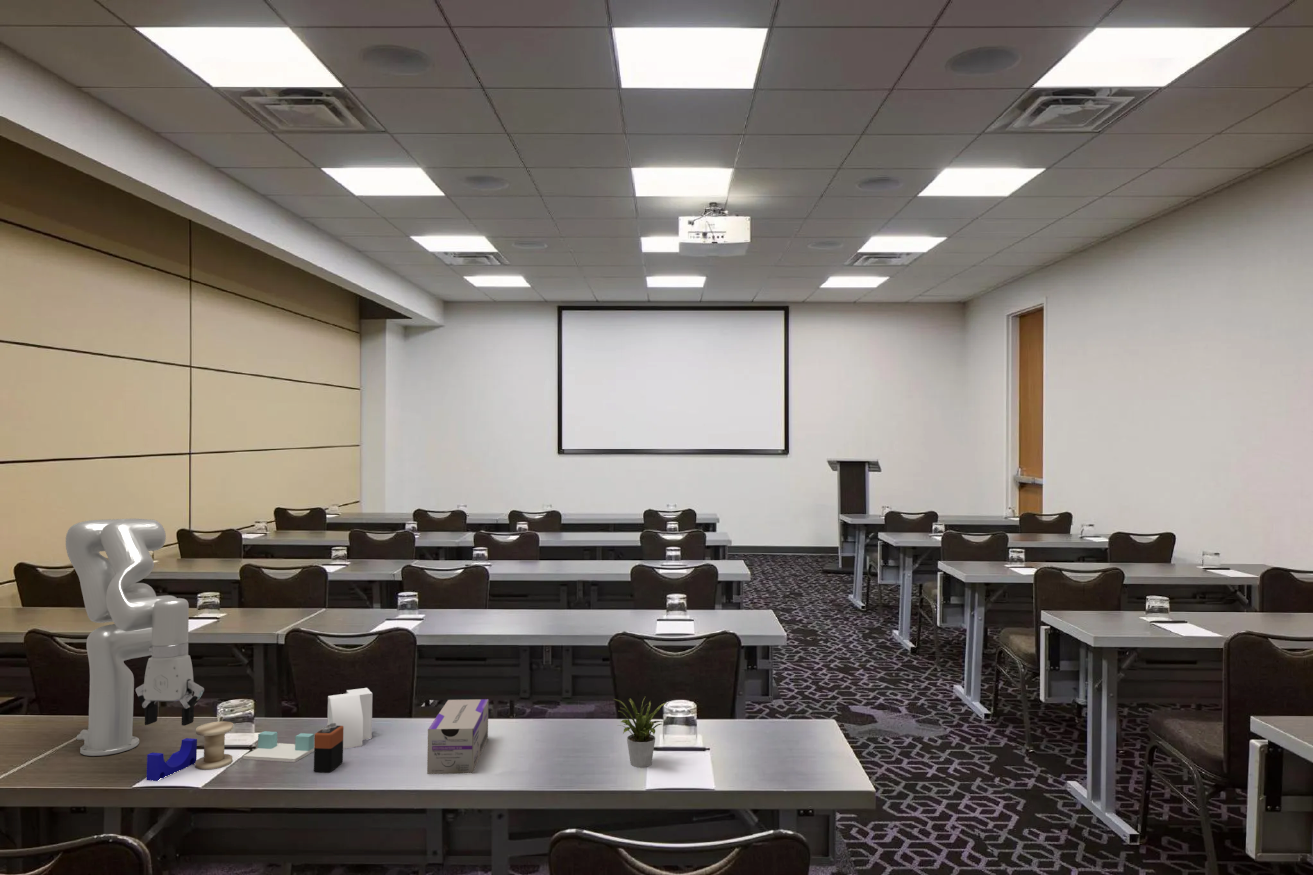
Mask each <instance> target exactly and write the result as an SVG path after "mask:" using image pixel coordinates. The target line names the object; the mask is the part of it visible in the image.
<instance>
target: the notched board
mask: <svg viewBox="0 0 1313 875" xmlns="http://www.w3.org/2000/svg"><path fill="white" fill-rule="evenodd" d="M314 738H315V733H304V732H300V733H299V734H297V735H295V736H294V740H295V741H294V743H282V742H278V731H269V730H268V731H266V730H264V731H262V732H260V733H258V736H257V748H256V749H254V750H251V751H250V752H248V753H246V754H244V755H243V756H242V758H243V760H251V761H267V762H270V761H271V762H283V763H284V762H285V763H296V762H298V761H299V760H302V759H303V758H304V757H307V756H308V755H310V754H311V753H314Z"/></svg>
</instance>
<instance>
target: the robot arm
mask: <svg viewBox="0 0 1313 875" xmlns="http://www.w3.org/2000/svg"><path fill="white" fill-rule="evenodd" d="M66 532H67V533H66V535H65V550H66V553H67V557H68V559H69V562H70V563H71V565H72V567H73V569H74V570H75V572H76V574H77V576H78V579H79V582H80V583H79V584H80V589H81V594H82V597H83V598H82V599H83V603H84V608H85V612H86V614H87V618H88V619H89V620H90V622H92V623H98V624H102V623H103V624H104V623H111V622H113V624H107V625H103V626H100V627H97V628H96V629H94V630H92V631H91V632H89V634H88V636H87V638H86V651H87V652H86V653H87V657H88V665H89V698H88V726H87V728H88V729H82V730H81V731H80V732H79V733H78V734H77V736H76V740H78V741H84V742H83V743H84V744H83V745H82V746H80V751H79V752H80V754H81V755H84V756H89V757H95V756H97V757H98V756H109V755H114V754H119V753H123V752H125V751H129V750H132V749H134V748H135V747H137V746H138V745H139V743H140V739H139V737H137V736H133V727H134V726H133V722H134V721H133V719H134V694H135V692H136V694H137V697H138V698H137V699H138V701H139V702H140V703H141V706H142V708H143V709H144V725H145V726H149V725H151V724H153V723H157V721H158V704H156V703H157V702H177V701H179V702H180V704H182V706H183V708H182V709H181V726H185V727H186V726H187V725H190V724H192V723H194V719H195V706H196V705H198V704H197V703H198V702H199V701H200V700H201V699H202V696H203V694H204V692H205V688H204V686H201V685H200V684H198V683H196V682H195V681H194V671H193V664H192V659H191V655H189V625H190V624H189V623H190V621H189V614H190V613H189V611H190V610H189V609H190V606H189V605H190V604H189V602H188V600H187V599H185V598H181V597H178V598H177V596H174V595H169V594H168V595H157V594H156V591H155V590H154V589H153V587H152V586H150V585H149V584H147V583H144V582H140V581H142V580H143V579H145V578H146V577H149V575H150V574H151V572H153V570H154V567H155V563H154V560H153V558H152V556H151V553H150V552H155V551H159V550H160V549H162V548H163V547H164V545H165V543H166V540H167V539H166V538H167V537H166V531H165V528H164V526H163V525H162V524H161V523H160V522H159V521H158V520H155V519H146V518H120V519H119V518H116V519H114V518H113V519H111V518H109V519H92V520H85V521H81V522H77V523H75V524H73V525H72V526H70V527H69V528H68V530H67V531H66ZM100 552H105V553H106V556H107V557H106V556H104V555H102V554H101V553H100ZM148 656H151V657H149V658H148V660H147V663H146V667H145V674H144V680H143V681H144V682H143V683H142V684H141V685H139V686H137V687H136V688H135V678H134V676H135V675H134V674H133V672H132V671H131V669H130V668H129V666H127V665H126V664H125V663H124V661H127V660H128V661H129V660H131V659H138V658H142V657H148ZM134 688H135V689H134ZM134 690H135V692H134Z"/></svg>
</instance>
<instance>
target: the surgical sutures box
mask: <svg viewBox="0 0 1313 875" xmlns="http://www.w3.org/2000/svg"><path fill="white" fill-rule="evenodd" d="M488 740H489V699H488V698H487V699H486V698H485V699H447V701H446V702H445V704H444V705H443V706H442V708H441V710H440V711H439V713H438V714H437V715H436V717H435V718H434V720H433V722H432V723H431V724H430V726H429V727H428V728H427V754H426V755H427V757H426V758H427V762H426V765H427V768H426V771H427V772H426V774H427V775H449V774H450V775H454V774H458V775H459V774H462V775H463V774H473V773H474V772H475V770H476V767H477V765H478V762H479V760H480V758H481V756H482V753H483V751H484V749H485V746H486V744H487V742H488Z"/></svg>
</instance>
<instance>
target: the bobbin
mask: <svg viewBox="0 0 1313 875" xmlns="http://www.w3.org/2000/svg"><path fill="white" fill-rule="evenodd" d="M233 729H234V723H233V722H231V721H213V722H208V723H204V724H201V725H198V726H197V727H196V729H195V735H197V736H203V756H202V757H200V758H199V759H196V761H195V764H194V768H195V769H197V770H205V771H206V770H216V769H220V768H224V767H227V766H229V765H231V764H232V763H233V756H232V754H228V753H225V740H226V737H225V736H226V733H229V732H231V731H232V730H233Z"/></svg>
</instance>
